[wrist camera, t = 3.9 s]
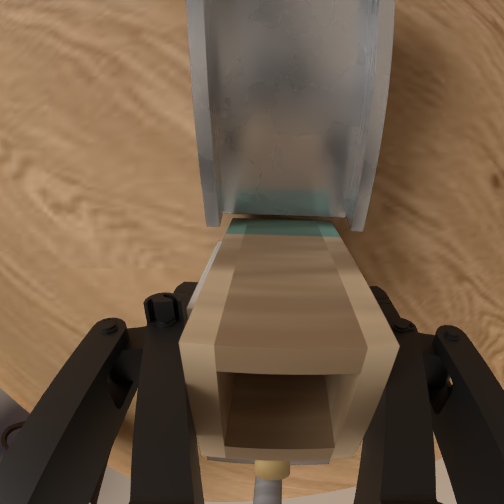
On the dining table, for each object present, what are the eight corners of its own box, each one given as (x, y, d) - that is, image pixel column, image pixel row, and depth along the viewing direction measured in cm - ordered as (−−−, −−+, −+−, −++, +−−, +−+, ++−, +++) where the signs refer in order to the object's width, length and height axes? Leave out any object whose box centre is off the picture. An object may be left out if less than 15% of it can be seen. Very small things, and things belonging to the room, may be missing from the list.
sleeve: (232, 218, 16) (178, 342, 7) (330, 221, 16) (399, 345, 6) (234, 303, 18) (201, 455, 8) (321, 305, 17) (353, 457, 8)
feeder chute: (218, 0, 12) (186, -64, 6) (352, 5, 12) (391, -54, 6) (216, 212, 17) (182, 260, 10) (350, 216, 16) (392, 267, 10)
